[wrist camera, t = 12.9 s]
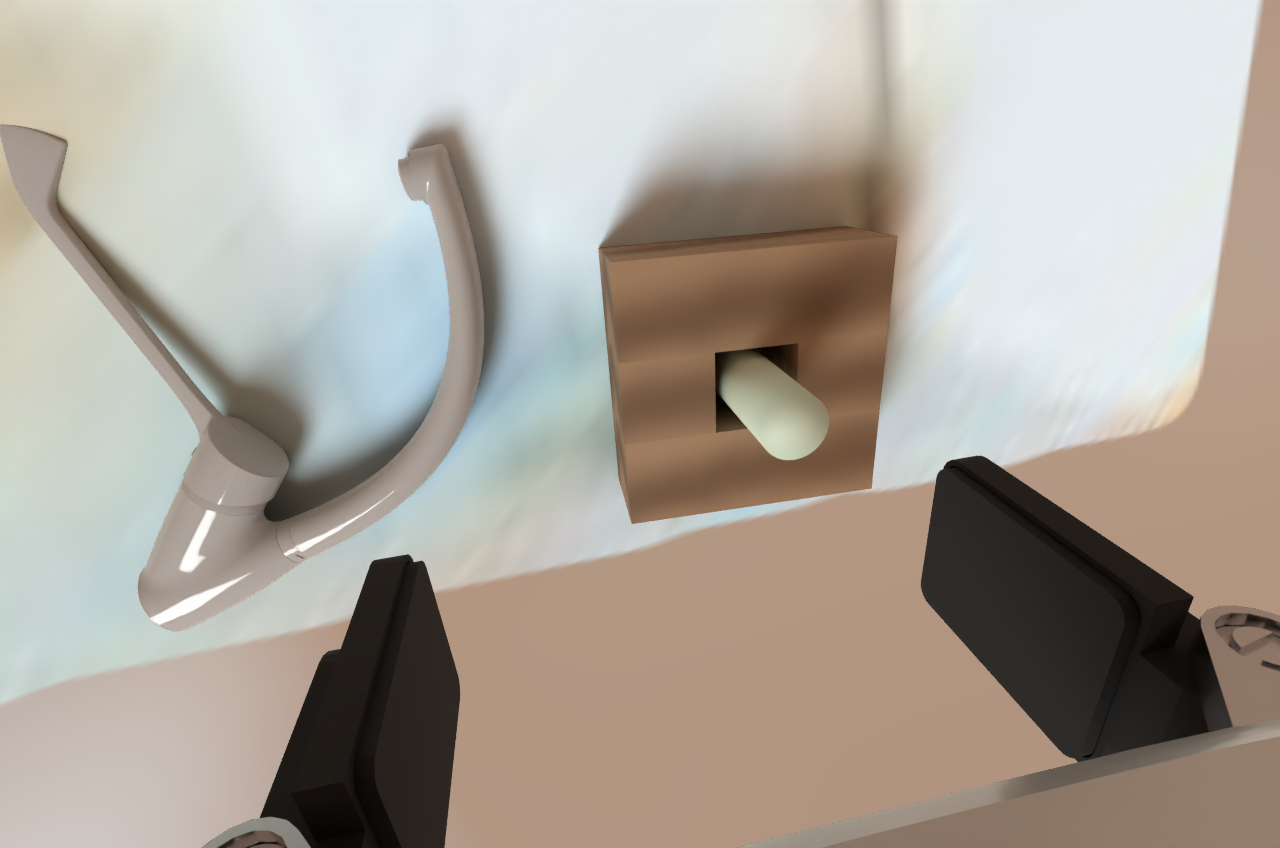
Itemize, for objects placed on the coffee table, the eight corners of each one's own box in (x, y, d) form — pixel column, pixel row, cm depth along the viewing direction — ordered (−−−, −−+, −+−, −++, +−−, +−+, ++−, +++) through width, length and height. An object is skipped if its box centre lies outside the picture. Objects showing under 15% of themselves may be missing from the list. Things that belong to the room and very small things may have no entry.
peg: (697, 336, 40) (760, 398, 29) (749, 330, 41) (831, 389, 30) (699, 387, 42) (760, 464, 31) (749, 381, 42) (827, 454, 31)
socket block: (598, 248, 37) (610, 262, 31) (845, 226, 39) (897, 236, 33) (618, 478, 43) (631, 523, 38) (830, 449, 45) (871, 488, 40)
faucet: (-101, 195, 32) (372, -18, 32) (217, 601, 41) (589, 437, 41) (-210, 188, 28) (340, -59, 28) (174, 646, 37) (592, 462, 36)
